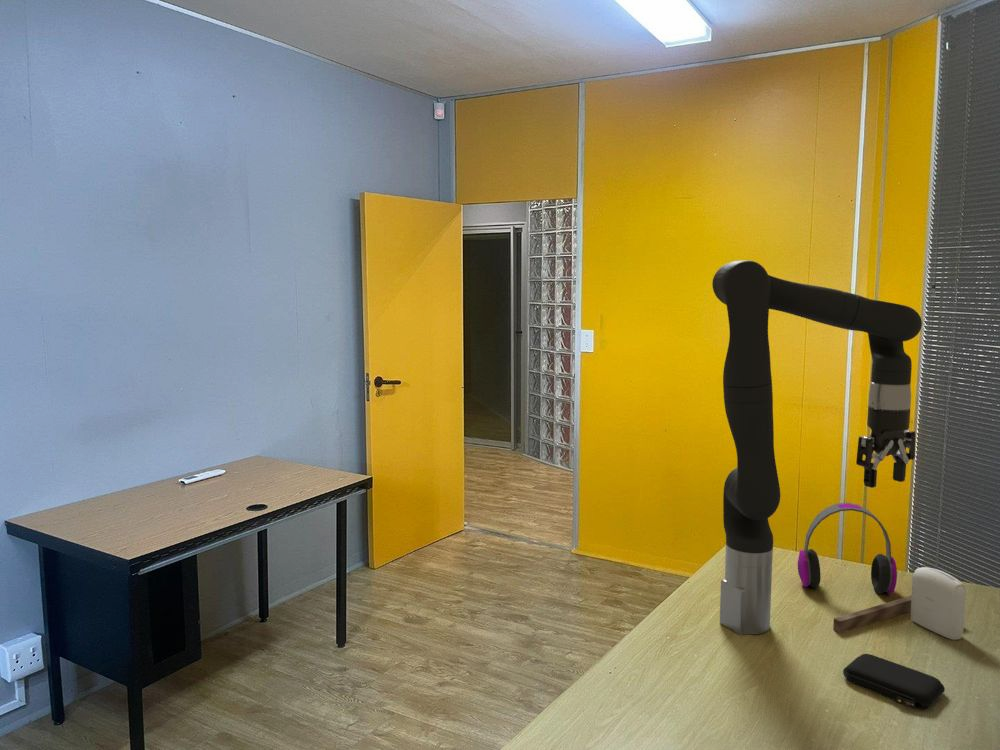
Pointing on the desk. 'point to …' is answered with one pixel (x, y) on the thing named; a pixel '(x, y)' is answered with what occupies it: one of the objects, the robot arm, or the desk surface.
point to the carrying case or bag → (894, 681)
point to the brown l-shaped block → (872, 614)
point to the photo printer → (938, 602)
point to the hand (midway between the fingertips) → (884, 483)
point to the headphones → (881, 565)
